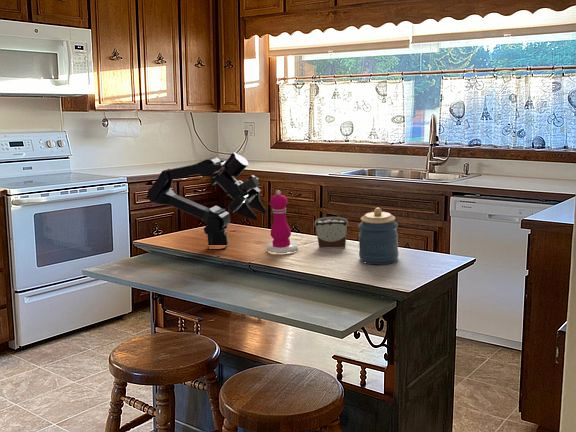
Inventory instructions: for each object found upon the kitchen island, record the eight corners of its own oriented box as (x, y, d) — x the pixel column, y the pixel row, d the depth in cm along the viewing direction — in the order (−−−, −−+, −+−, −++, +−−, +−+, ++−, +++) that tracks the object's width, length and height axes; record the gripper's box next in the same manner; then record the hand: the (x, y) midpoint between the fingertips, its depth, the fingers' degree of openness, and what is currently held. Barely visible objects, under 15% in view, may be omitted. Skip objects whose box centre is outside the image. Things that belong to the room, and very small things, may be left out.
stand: (266, 255, 224) (266, 250, 224) (267, 246, 235) (267, 241, 234) (298, 254, 224) (298, 248, 224) (297, 245, 235) (297, 239, 234)
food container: (349, 242, 235) (348, 215, 232) (349, 247, 229) (348, 220, 226) (315, 243, 236) (314, 216, 233) (314, 248, 230) (313, 221, 227)
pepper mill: (268, 244, 231) (264, 189, 226) (287, 241, 233) (284, 187, 229) (275, 249, 224) (272, 193, 219) (294, 246, 227) (291, 190, 222)
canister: (375, 251, 223) (374, 201, 218) (406, 258, 214) (406, 206, 209) (351, 260, 214) (349, 209, 210) (382, 268, 205) (381, 214, 201)
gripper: (234, 174, 218) (266, 206, 217) (253, 164, 235) (284, 194, 234) (214, 196, 222) (246, 228, 221) (235, 185, 239) (264, 215, 238)
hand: (261, 215), depth 229 cm, fingers open, 9 cm apart
